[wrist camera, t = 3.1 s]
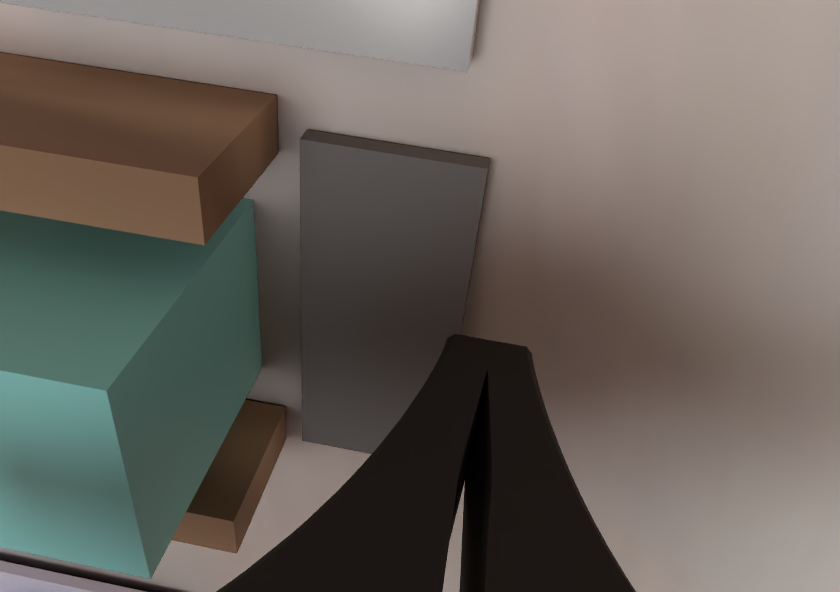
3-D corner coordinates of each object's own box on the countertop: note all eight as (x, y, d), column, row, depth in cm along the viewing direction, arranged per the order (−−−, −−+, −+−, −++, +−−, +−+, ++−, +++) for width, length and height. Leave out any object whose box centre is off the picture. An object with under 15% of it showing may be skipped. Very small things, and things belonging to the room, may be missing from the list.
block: (262, 366, 15) (150, 579, 11) (83, 332, 15) (-92, 527, 11) (254, 199, 12) (106, 391, 8) (42, 163, 13) (-201, 332, 9)
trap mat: (440, 452, 15) (438, 466, 15) (307, 427, 15) (302, 440, 15) (490, 158, 11) (487, 169, 11) (307, 129, 11) (299, 138, 11)
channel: (286, 438, 16) (237, 553, 13) (-83, 367, 16) (-193, 464, 14) (276, 95, 11) (196, 177, 9) (-240, 16, 12) (-445, 71, 9)
